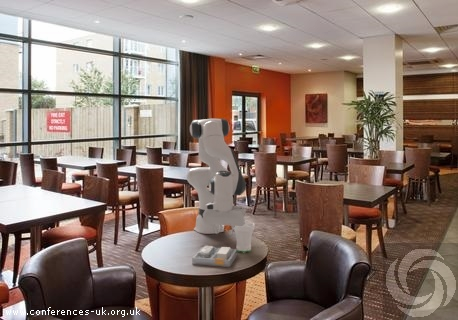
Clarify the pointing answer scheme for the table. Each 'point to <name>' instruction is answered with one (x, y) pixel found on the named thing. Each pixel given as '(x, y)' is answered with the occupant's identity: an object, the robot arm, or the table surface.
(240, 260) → the table surface
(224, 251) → the white rectangular block
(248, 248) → the cup
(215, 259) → the tray
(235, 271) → the table surface
